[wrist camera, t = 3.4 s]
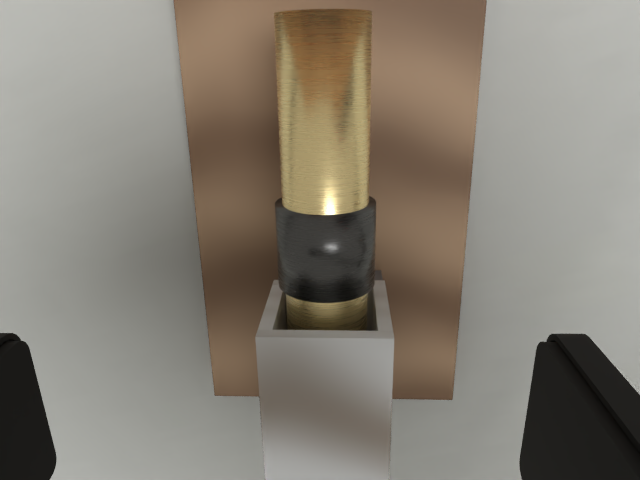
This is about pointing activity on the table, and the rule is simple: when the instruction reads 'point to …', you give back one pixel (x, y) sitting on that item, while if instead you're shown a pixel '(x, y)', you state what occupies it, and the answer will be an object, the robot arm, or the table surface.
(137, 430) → the table surface
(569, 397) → the robot arm
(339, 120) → the brass tube
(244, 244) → the rig
